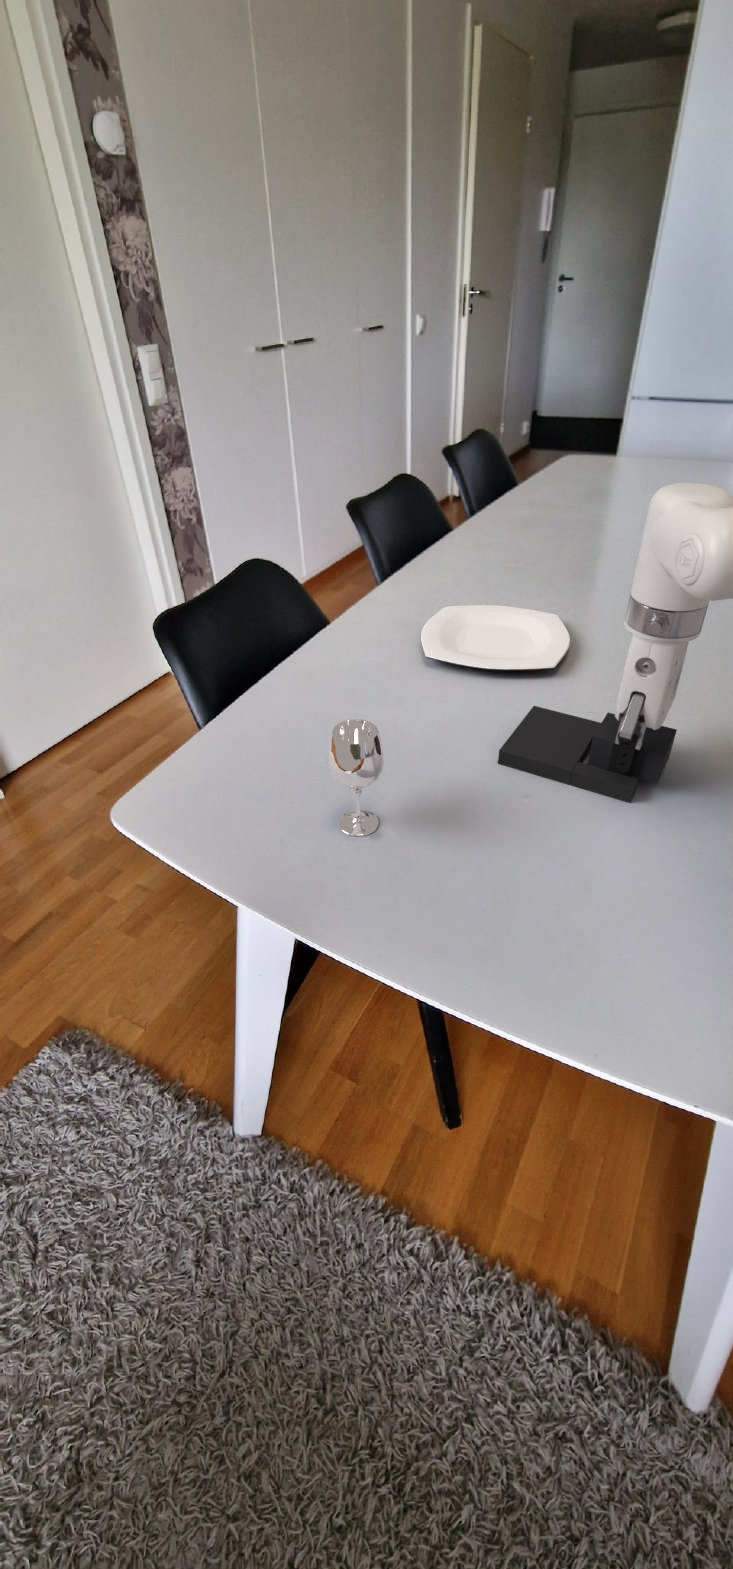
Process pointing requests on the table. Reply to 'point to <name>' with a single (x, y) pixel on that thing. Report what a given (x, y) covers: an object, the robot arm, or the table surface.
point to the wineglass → (356, 768)
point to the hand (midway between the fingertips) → (629, 757)
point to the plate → (495, 637)
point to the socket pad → (562, 753)
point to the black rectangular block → (653, 743)
